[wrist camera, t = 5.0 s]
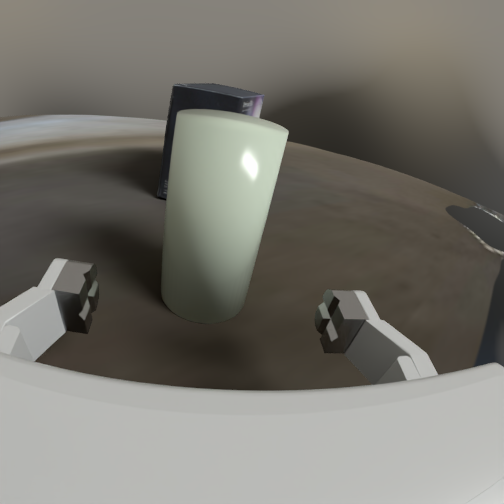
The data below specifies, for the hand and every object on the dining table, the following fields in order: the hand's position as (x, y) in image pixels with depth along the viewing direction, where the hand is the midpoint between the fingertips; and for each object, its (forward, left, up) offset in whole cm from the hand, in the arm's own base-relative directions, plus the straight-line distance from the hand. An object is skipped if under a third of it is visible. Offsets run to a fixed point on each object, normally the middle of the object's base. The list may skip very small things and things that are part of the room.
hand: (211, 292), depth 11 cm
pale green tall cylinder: (0, +6, -5) cm, 8 cm away
